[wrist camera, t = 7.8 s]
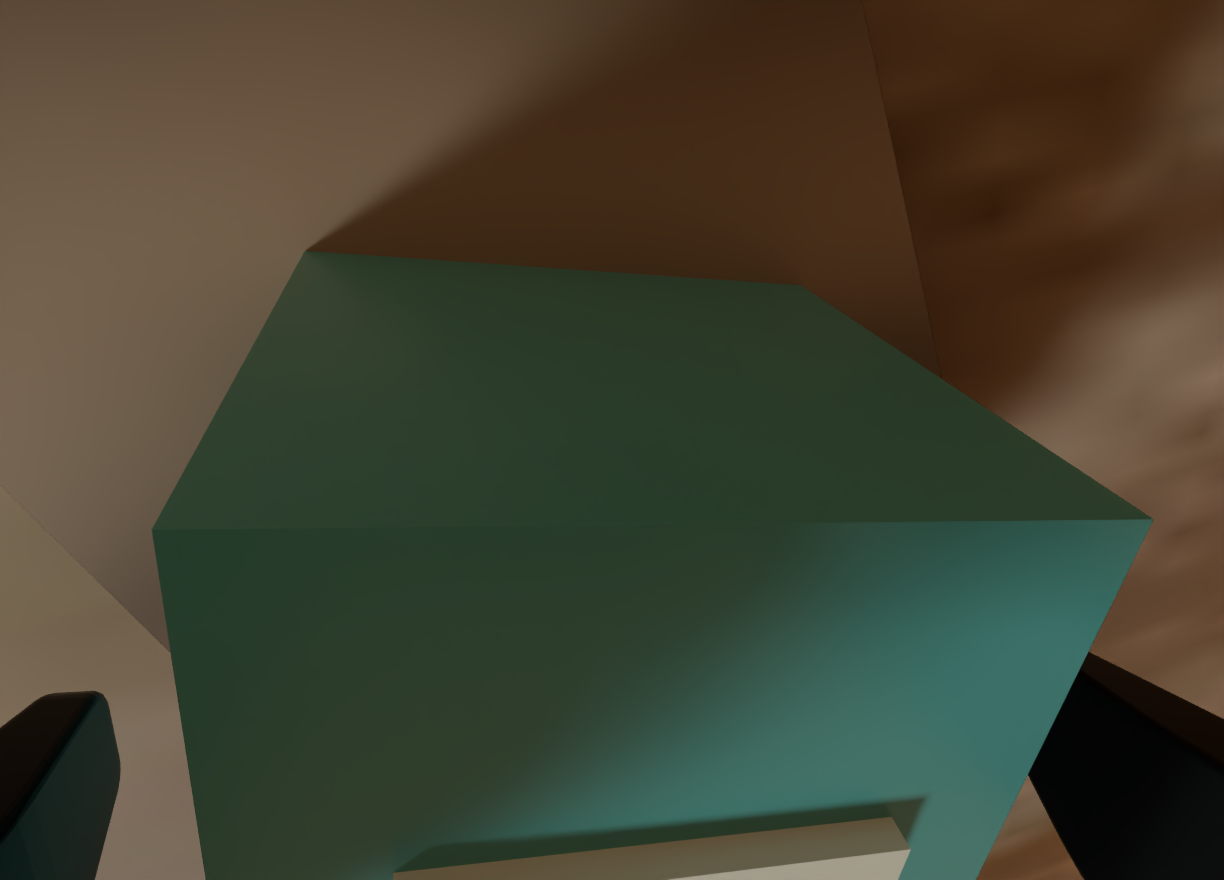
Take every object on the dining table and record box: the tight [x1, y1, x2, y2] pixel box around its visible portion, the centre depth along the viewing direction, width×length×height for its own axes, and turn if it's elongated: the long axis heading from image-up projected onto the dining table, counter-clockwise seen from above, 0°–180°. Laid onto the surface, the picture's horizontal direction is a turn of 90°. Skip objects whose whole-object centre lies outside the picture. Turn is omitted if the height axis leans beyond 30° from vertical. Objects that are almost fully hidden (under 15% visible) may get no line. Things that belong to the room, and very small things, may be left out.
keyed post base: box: [0, 0, 942, 653], centre depth 10 cm, size 16×12×5 cm
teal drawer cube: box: [152, 251, 1154, 880], centre depth 9 cm, size 6×6×6 cm
